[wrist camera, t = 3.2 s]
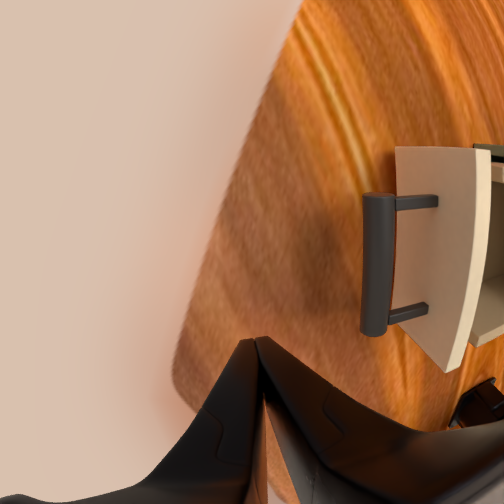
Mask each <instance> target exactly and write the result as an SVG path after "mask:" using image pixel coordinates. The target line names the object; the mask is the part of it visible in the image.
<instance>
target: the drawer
mask: <svg viewBox="0 0 504 504" xmlns="http://www.w3.org/2000/svg"><path fill="white" fill-rule="evenodd" d="M395 161H396V183H397V196H394V194H392V193H386V192H369V193H365V194H363V195H362V201H363V277H362V300H361V316H360V331H361V333H362V334H364V335H366V336H369V337H379V336H382V335H384V334H385V333H386V331H387V326H388V325H392V324H396V323H397V324H398V325H399V326H400V327H401V328H402V329H403V330H404V331H405V332H406V333H407V334H408V335H409V336H410V337H411V338H412V339H413V340H414V341H415V342H416V343H417V344H418V345H419V346H420V347H421V349H422V350H423V351H424V352H425V353H426V354H427V355H428V356H429V357H430V358H431V359H432V360H433V361H434V362H435V363H436V364H437V365H438V366H439V367H440V368H441V370H442V371H443V372H444V373H447V372H449V371H451V370H453V369H456V368H458V367H459V366H460V364H461V361H462V358H463V355H464V351H465V348H466V345H467V342H468V341H469V342H470V343H471V344H472V345H473V346H474V347H476V348H477V347H479V346H481V345H483V344H485V343H487V342H488V341H490V340H492V339H494V338H496V337H498V336H500V335H502V334H503V333H504V163H499V162H491V152H490V150H485V149H476V148H459V147H427V146H396V147H395ZM395 211H397V238H396V261H395V276H394V288H393V299H392V308H391V310H389V309H390V299H391V289H392V276H393V260H394V235H395Z"/></svg>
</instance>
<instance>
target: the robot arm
mask: <svg viewBox="0 0 504 504" xmlns="http://www.w3.org/2000/svg"><path fill="white" fill-rule="evenodd" d="M495 381H496V378H495V377H493V378H491V379H489V380H488V381H486V382H484V383H483V384H481V385H479V386H477V387H476V388H474V389H472V390H470V391H469V392H467V393H465V394H464V395H463V396H462V398H461V400H460V402H459V404H458V407H457V409H456V411H455V413H454V415H453V417H452V419H451V421H450V423H449V425H448V427H449V428H452V427H454V426H456V425H458V424H459V426H460V427H461V428H460V429H453V430H445V431H436V432H423V431H418V430H414V429H411V428H409V427H406V426H404V425H402V424H400V423H398V422H396V421H394V420H392V419H390V418H388V417H386V416H384V415H382V414H380V413H378V412H376V411H374V410H372V409H370V408H368V407H366V406H364V405H363V404H361V403H359V402H357V401H355V400H354V399H352V398H351V397H349V396H348V395H346V394H345V393H343V392H342V391H340V390H339V389H338V388H336V387H335V386H334V387H333V385H332V384H331V383H329V382H328V381H326V380H325V379H324V378H322V377H321V376H320V375H318V374H317V373H316V372H314V371H313V370H312V369H310V368H309V367H308V366H306V365H305V364H304V363H302V362H301V361H300V360H298V359H297V358H296V357H294V356H293V355H292V354H290V353H289V352H288V351H286V350H285V349H284V348H283V347H281V346H280V345H279V344H277V343H276V342H275V341H274V340H272V339H271V338H270V337H268V336H263V337H257V338H255V339H253V338H250V339H243V340H240V341H239V343H238V345H237V347H236V348H235V350H234V352H233V354H232V356H231V357H230V359H229V361H228V363H227V364H226V366H225V368H224V369H223V371H222V373H221V375H220V376H219V378H218V380H217V382H216V383H215V385H214V387H213V388H212V390H211V392H210V394H209V395H208V397H207V399H206V400H205V402H204V404H203V405H202V408H201V409H200V410H199V412H198V414H197V415H196V417H195V419H194V420H193V422H192V423H191V425H190V426H189V428H188V429H187V431H186V432H185V433H184V434H183V436H182V437H181V438H180V439H179V441H178V442H177V443H176V444H175V445H174V447H173V448H172V449H171V450H170V451H169V452H168V454H167V455H166V456H165V457H164V458H163V459H162V461H161V462H160V463H159V464H158V465H157V466H156V468H155V469H154V470H153V471H152V472H151V473H150V474H149V475H148V476H147V477H146V478H145V479H143V480H142V481H141V482H139V483H137V484H135V485H133V486H131V487H128V488H124V489H121V490H117V491H114V492H110V493H106V494H103V495H99V496H94V497H90V498H86V499H81V500H76V501H71V502H62V503H53V502H45V501H40V500H37V499H35V498H32V497H29V496H26V495H23V494H15V495H10V496H6V497H3V498H0V504H268V494H267V458H266V426H265V406H266V410H267V413H268V416H269V419H270V421H271V424H272V427H273V430H274V433H275V436H276V438H277V441H278V444H279V447H280V450H281V452H282V455H283V458H284V461H285V463H286V466H287V469H288V472H289V474H290V477H291V480H292V482H293V485H294V488H295V490H296V493H297V495H298V498H299V501H300V503H301V504H504V395H503V394H502V393H501V392H500V391H499V390H498V389H497V388H496V387H495V386H494V383H495ZM264 402H265V405H264Z"/></svg>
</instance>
